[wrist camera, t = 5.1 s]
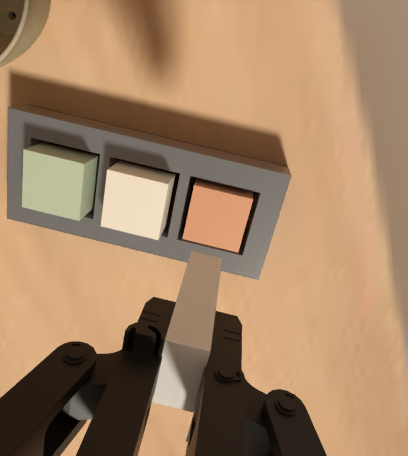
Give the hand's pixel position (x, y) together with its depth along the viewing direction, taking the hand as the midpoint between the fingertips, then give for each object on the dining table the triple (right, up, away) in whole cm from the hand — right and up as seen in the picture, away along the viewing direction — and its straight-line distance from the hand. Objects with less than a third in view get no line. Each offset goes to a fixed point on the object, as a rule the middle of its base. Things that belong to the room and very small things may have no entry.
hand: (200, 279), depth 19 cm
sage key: (-10, +6, +9) cm, 14 cm away
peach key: (+1, +4, +10) cm, 11 cm away
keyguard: (-4, +5, +10) cm, 12 cm away
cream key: (-4, +5, +9) cm, 11 cm away
